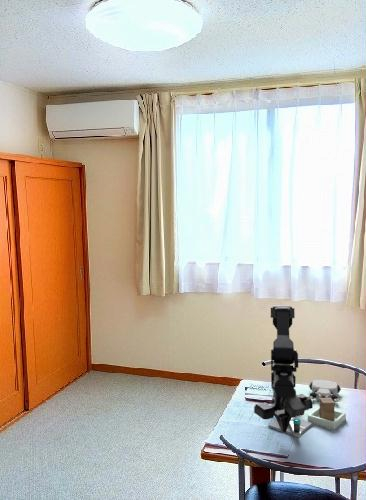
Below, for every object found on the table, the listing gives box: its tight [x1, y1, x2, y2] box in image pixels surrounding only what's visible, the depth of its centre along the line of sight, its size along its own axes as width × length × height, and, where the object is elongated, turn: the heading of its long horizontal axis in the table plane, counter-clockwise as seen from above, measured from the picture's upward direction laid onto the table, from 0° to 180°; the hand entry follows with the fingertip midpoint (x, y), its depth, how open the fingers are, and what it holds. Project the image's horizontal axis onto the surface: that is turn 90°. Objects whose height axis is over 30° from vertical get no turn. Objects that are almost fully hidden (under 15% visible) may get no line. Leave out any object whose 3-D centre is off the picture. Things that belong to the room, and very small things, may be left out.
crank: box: [289, 417, 302, 438], centre depth 154 cm, size 12×4×5 cm, turn 179°
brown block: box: [319, 398, 336, 421], centre depth 161 cm, size 4×4×7 cm
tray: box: [307, 405, 347, 431], centre depth 161 cm, size 10×10×2 cm
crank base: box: [267, 416, 314, 437], centre depth 158 cm, size 11×11×1 cm
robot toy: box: [307, 379, 342, 403], centre depth 181 cm, size 12×4×15 cm
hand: (283, 432), depth 147 cm, fingers closed
